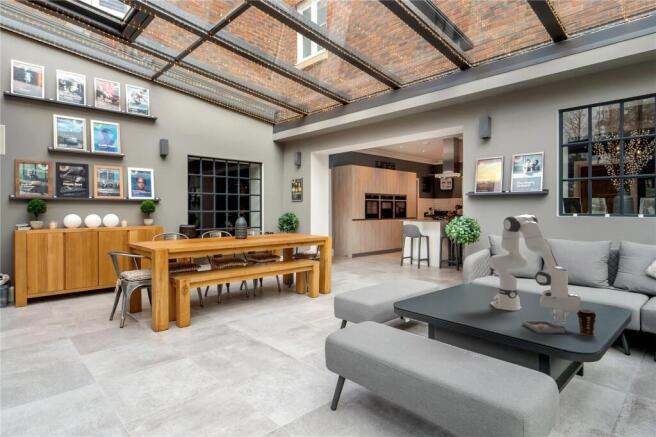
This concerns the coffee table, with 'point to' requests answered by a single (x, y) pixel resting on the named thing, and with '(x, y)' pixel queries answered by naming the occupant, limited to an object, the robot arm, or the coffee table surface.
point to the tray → (548, 327)
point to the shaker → (559, 316)
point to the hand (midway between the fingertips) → (559, 316)
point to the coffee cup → (586, 321)
